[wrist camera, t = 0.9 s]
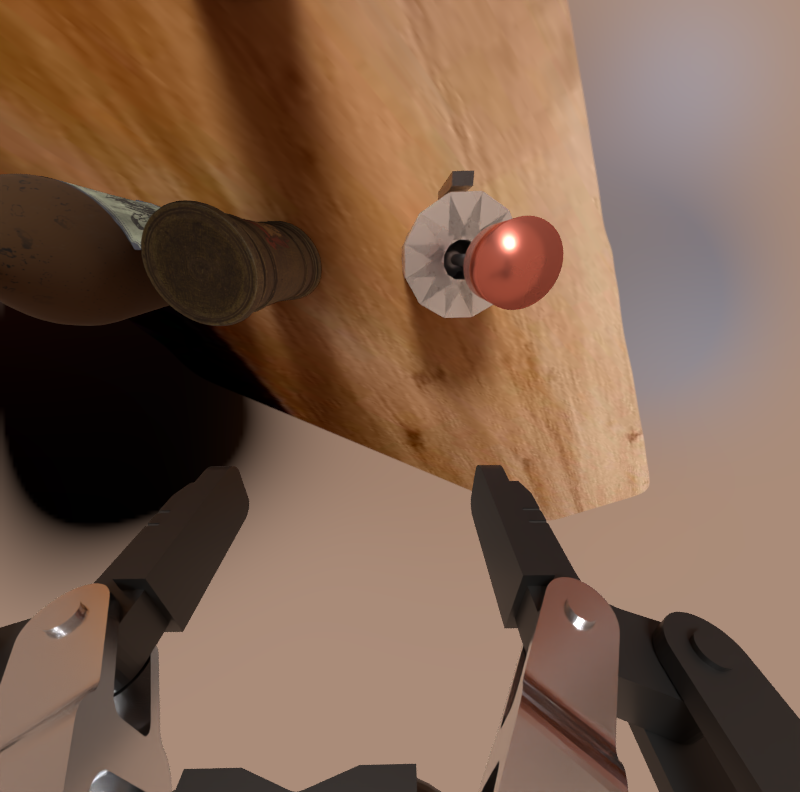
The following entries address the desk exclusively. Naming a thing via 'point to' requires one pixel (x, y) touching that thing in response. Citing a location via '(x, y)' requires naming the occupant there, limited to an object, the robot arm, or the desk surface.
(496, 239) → the plunger
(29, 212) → the olive oil
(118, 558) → the robot arm
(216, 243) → the container
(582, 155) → the desk surface
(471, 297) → the press carafe
